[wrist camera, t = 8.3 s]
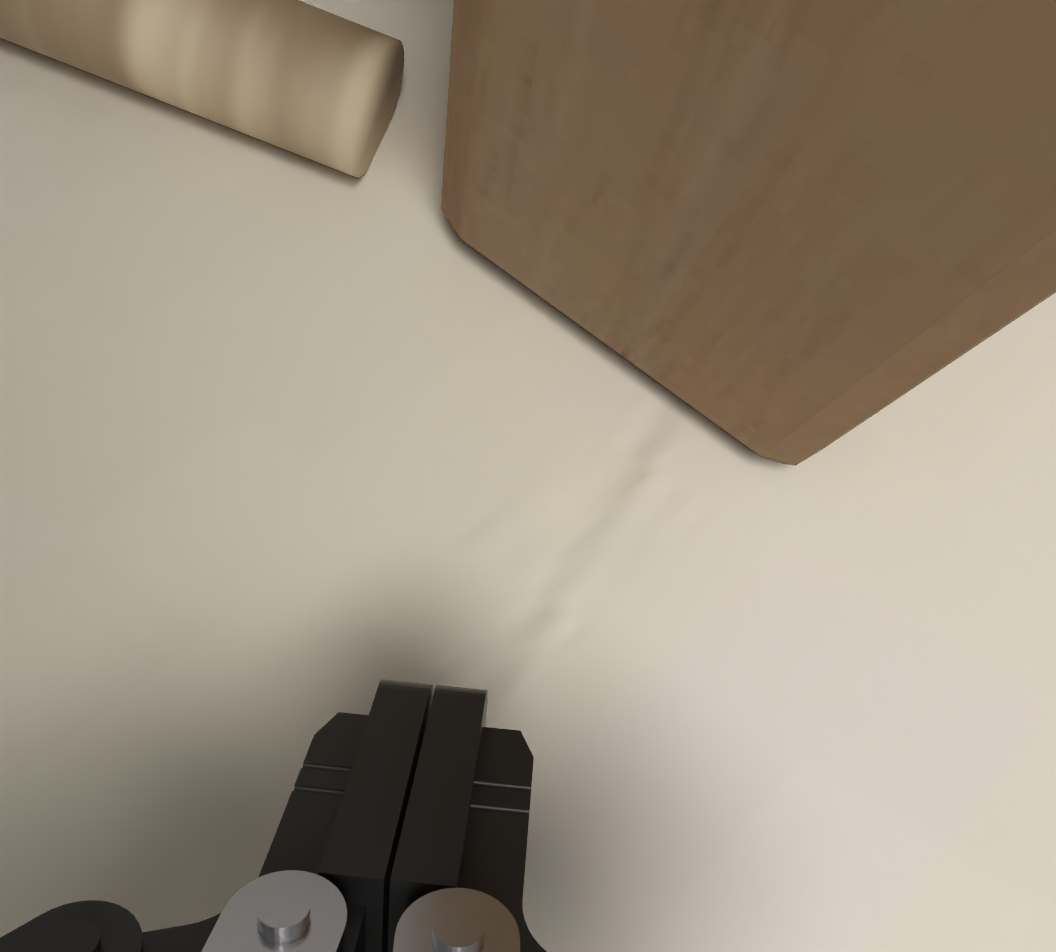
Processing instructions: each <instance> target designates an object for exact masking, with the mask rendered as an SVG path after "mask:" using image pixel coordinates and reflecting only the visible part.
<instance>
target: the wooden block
mask: <svg viewBox="0 0 1056 952" xmlns="http://www.w3.org/2000/svg"><path fill="white" fill-rule="evenodd" d="M441 209H442V211H443V212H444V214H445V216H446V217H447V219H448V220H449V222H450V223H451V225H452V226H453V228H454V230H455V231H456V233H457V234H458V236H459V237H460V238H461V239H462V240H463V241H464V242H465V243H467V244H468V245H470V246H471V247H472V248H474V249H475V250H476V251H478V252H479V253H481V254H482V255H483V256H485V257H486V258H487V259H489V260H490V261H492V262H493V263H494V264H496V265H497V266H499V267H500V268H501V269H503V270H504V271H505V272H507V273H508V274H510V275H511V276H512V277H514V278H515V279H516V280H518V281H519V282H521V283H522V284H523V285H525V286H526V287H527V288H529V289H530V290H532V291H533V292H534V293H536V294H537V295H539V296H540V297H541V298H543V299H544V300H545V301H547V302H548V303H550V304H551V305H552V306H554V307H555V308H556V309H558V310H559V311H561V312H562V313H563V314H565V315H566V316H567V317H569V318H570V319H572V320H573V321H574V322H576V323H577V324H578V325H580V326H581V327H583V328H584V329H585V330H587V331H588V332H590V333H591V334H592V335H594V336H595V337H596V338H598V339H599V340H601V341H602V342H603V343H605V344H606V345H607V346H609V347H610V348H612V349H613V350H614V351H616V352H617V353H618V354H620V355H621V356H623V357H624V358H625V359H627V360H628V361H629V362H631V363H632V364H634V365H635V366H636V367H638V368H639V369H641V370H642V371H643V372H645V373H646V374H647V375H649V376H650V377H652V378H653V379H654V380H656V381H657V382H658V383H660V384H661V385H663V386H664V387H665V388H667V389H668V390H669V391H671V392H672V393H674V394H675V395H676V396H678V397H679V398H681V399H682V400H683V401H685V402H686V403H687V404H689V405H690V406H692V407H693V408H694V409H696V410H697V411H698V412H700V413H701V414H703V415H704V416H705V417H707V418H708V419H709V420H711V421H712V422H714V423H715V424H716V425H718V426H719V427H720V428H722V429H723V430H725V431H726V432H727V433H729V434H730V435H732V436H733V437H734V438H736V439H737V440H738V441H740V442H741V443H743V444H744V445H745V446H747V447H748V448H749V449H751V450H752V451H754V452H755V453H756V454H758V455H760V456H763V457H766V458H769V459H772V460H775V461H778V462H780V463H783V464H789V465H797V464H799V463H800V462H802V461H804V460H805V459H807V458H809V457H810V456H812V455H813V454H815V453H817V452H818V451H820V450H822V449H823V448H825V447H826V446H828V445H829V444H831V443H832V442H834V441H835V440H837V439H838V438H840V437H841V436H843V435H844V434H846V433H847V432H849V431H850V430H852V429H853V428H855V427H856V426H858V425H859V424H861V423H862V422H864V421H865V420H866V419H868V418H869V417H871V416H872V415H874V414H875V413H877V412H878V411H880V410H881V409H883V408H884V407H886V406H887V405H889V404H890V403H892V402H893V401H895V400H896V399H898V398H899V397H901V396H902V395H904V394H905V393H907V392H908V391H910V390H911V389H913V388H914V387H916V386H917V385H919V384H920V383H922V382H923V381H925V380H926V379H927V378H929V377H930V376H932V375H933V374H935V373H936V372H938V371H939V370H941V369H942V368H944V367H945V366H947V365H948V364H950V363H951V362H953V361H954V360H956V359H957V358H959V357H960V356H962V355H963V354H965V353H966V352H968V351H969V350H971V349H972V348H974V347H975V346H977V345H978V344H980V343H981V342H983V341H984V340H985V339H987V338H988V337H990V336H991V335H993V334H994V333H996V332H997V331H999V330H1000V329H1002V328H1003V327H1005V326H1006V325H1008V324H1009V323H1011V322H1012V321H1014V320H1015V319H1017V318H1018V317H1020V316H1021V315H1023V314H1024V313H1026V312H1027V311H1029V310H1030V309H1032V308H1033V307H1035V306H1036V305H1038V304H1039V303H1041V302H1042V301H1043V300H1045V299H1046V298H1048V297H1049V296H1051V295H1052V294H1054V293H1055V292H1056V0H454V13H453V29H452V45H451V61H450V77H449V93H448V109H447V125H446V141H445V157H444V173H443V189H442V205H441Z"/></svg>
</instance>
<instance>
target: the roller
mask: <svg viewBox="0 0 1056 952" xmlns="http://www.w3.org/2000/svg"><path fill="white" fill-rule="evenodd" d="M0 38H2V39H5V40H7V41H10V42H13V43H15V44H18V45H20V46H23V47H25V48H28V49H30V50H33V51H36V52H38V53H41V54H43V55H46V56H48V57H51V58H53V59H56V60H58V61H61V62H64V63H66V64H69V65H71V66H74V67H76V68H79V69H81V70H84V71H86V72H89V73H92V74H94V75H97V76H99V77H102V78H104V79H107V80H109V81H112V82H115V83H117V84H120V85H122V86H125V87H127V88H130V89H132V90H135V91H137V92H140V93H143V94H145V95H148V96H150V97H153V98H155V99H158V100H160V101H163V102H166V103H168V104H171V105H173V106H176V107H178V108H181V109H183V110H186V111H188V112H191V113H194V114H196V115H199V116H201V117H204V118H206V119H209V120H211V121H214V122H217V123H219V124H222V125H224V126H227V127H229V128H232V129H234V130H237V131H239V132H242V133H245V134H247V135H250V136H252V137H255V138H257V139H260V140H262V141H265V142H267V143H270V144H273V145H275V146H278V147H280V148H283V149H285V150H288V151H290V152H293V153H296V154H298V155H301V156H303V157H306V158H308V159H311V160H313V161H316V162H318V163H321V164H324V165H326V166H329V167H331V168H334V169H336V170H339V171H341V172H344V173H347V174H349V175H352V176H354V177H357V178H358V177H361V176H362V175H363V174H365V172H366V171H367V170H368V168H369V166H370V164H371V162H372V159H373V157H374V155H375V153H376V151H377V149H378V147H379V145H380V142H381V140H382V138H383V136H384V134H385V132H386V130H387V128H388V125H389V123H390V121H391V119H392V116H393V113H394V110H395V106H396V103H397V99H398V95H399V91H400V86H401V81H402V75H403V66H404V49H403V45H402V42H401V41H400V40H397V39H395V38H392V37H390V36H387V35H385V34H382V33H380V32H377V31H374V30H372V29H369V28H367V27H364V26H362V25H359V24H357V23H354V22H352V21H349V20H347V19H344V18H342V17H339V16H337V15H334V14H331V13H329V12H326V11H324V10H321V9H319V8H316V7H314V6H311V5H309V4H306V3H304V2H301V1H299V0H0Z"/></svg>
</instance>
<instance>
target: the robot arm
mask: <svg viewBox="0 0 1056 952" xmlns="http://www.w3.org/2000/svg"><path fill="white" fill-rule="evenodd" d="M486 707H487V690H479V689H469V688H459V687H450V686H440V685H437V686H436V688H435V691H434V695H433V685H428V684H418V683H408V682H399V681H389V680H381V681H380V683H379V686H378V689H377V692H376V695H375V698H374V701H373V705H372V708H371V711H370V714H369V715H359V714H349V713H340V712H339V713H338V714H336V715H335V716H334V717H333V718H332V719H331V720H330V721H329V722H328V723H327V724H326V725H325V726H323V727H322V728H321V729H320V730H319V731H318V732H317V733H316V734H315V735H314V737H313V740H312V742H311V745H310V747H309V750H308V752H307V755H306V758H305V760H304V764H303V768H301V770H300V773H299V775H298V778H297V781H296V783H295V788H294V791H292V793H291V796H290V798H289V801H288V804H287V806H286V809H285V811H284V814H283V816H282V819H281V821H280V824H279V827H278V829H277V832H276V834H275V837H274V839H273V842H272V844H271V847H270V850H269V852H268V855H267V857H266V860H265V862H264V865H263V867H262V870H261V873H260V875H259V877H258V878H256V879H254V880H252V881H250V882H249V883H247V884H246V885H244V886H243V887H241V888H240V889H239V890H238V891H237V892H236V893H235V894H234V895H233V896H232V897H231V898H230V899H229V901H228V902H227V904H226V905H225V907H224V909H223V911H222V913H221V914H218V915H216V916H214V917H212V918H210V919H207V920H204V921H201V922H198V923H194V924H189V925H184V926H179V927H173V928H167V929H161V930H155V931H149V932H143V933H142V930H141V928H140V925H139V922H138V921H137V920H136V918H135V917H134V915H132V914H131V913H130V912H129V911H128V910H127V909H125V908H123V907H121V906H119V905H116V904H113V903H110V902H105V901H80V902H74V903H70V904H66V905H62V906H60V907H57V908H54V909H52V910H50V911H48V912H46V913H44V914H42V915H40V916H38V917H36V918H34V919H33V920H31V921H29V922H27V923H26V924H24V925H22V926H20V927H19V928H17V929H15V930H13V931H12V932H10V933H8V934H6V935H5V936H3V937H1V938H0V952H546V951H545V950H544V949H543V948H542V947H541V946H540V945H539V944H538V943H537V941H536V940H535V939H534V938H533V936H532V935H531V933H530V931H529V930H528V927H527V925H526V922H525V920H524V916H523V911H522V897H523V885H524V872H525V859H526V846H527V834H528V821H529V808H530V796H531V783H532V770H533V755H532V753H531V751H530V749H529V747H528V745H527V743H526V741H525V739H524V737H523V735H522V733H521V731H517V730H507V729H497V728H488V727H485V720H486Z"/></svg>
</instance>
